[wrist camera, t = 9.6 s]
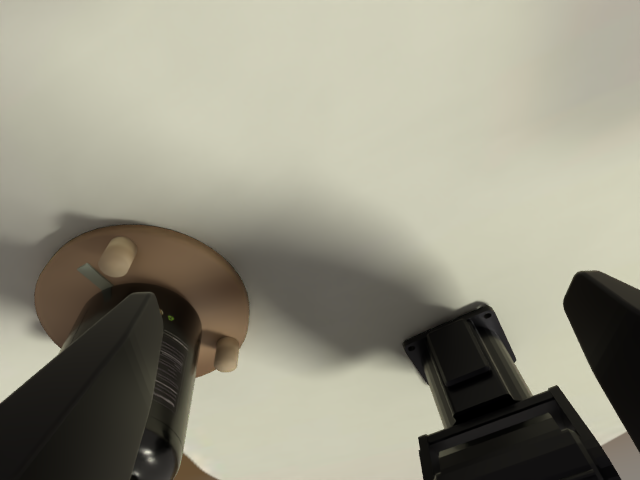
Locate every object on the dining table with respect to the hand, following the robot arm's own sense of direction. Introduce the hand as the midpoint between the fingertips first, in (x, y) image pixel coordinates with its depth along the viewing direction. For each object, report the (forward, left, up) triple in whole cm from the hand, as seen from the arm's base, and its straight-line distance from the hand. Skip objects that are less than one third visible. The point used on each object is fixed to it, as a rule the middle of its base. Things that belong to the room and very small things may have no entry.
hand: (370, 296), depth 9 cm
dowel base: (-5, +15, -13) cm, 21 cm away
